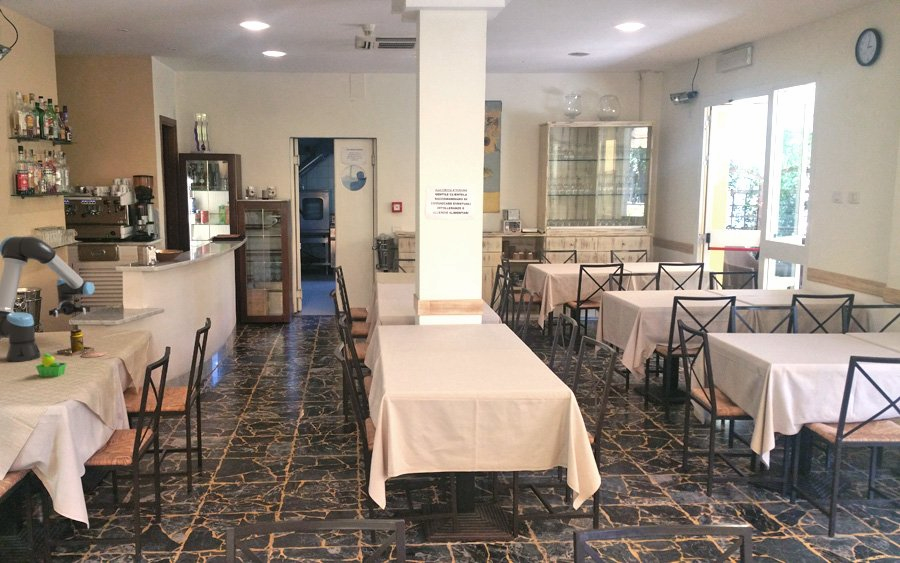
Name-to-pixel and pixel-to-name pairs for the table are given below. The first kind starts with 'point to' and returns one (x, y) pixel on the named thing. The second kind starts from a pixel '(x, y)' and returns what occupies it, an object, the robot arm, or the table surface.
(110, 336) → the table surface
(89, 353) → the serving plate
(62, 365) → the fruit basket
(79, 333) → the condiment
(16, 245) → the robot arm
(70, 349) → the dark brown openwork trivet
